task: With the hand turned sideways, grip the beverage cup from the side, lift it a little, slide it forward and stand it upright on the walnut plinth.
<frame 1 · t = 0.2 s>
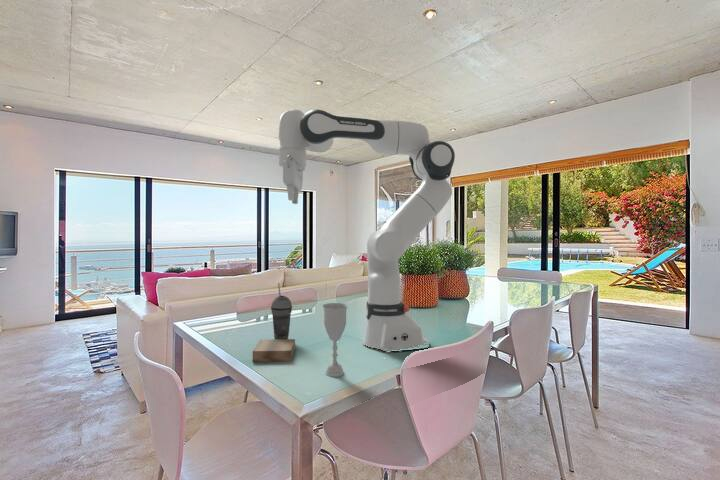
hand: (293, 202, 114), 48 cm above the table, tool pointing down, fingers open, 8 cm apart
walnut plinth: (274, 354, 105), on the table
chalice: (334, 373, 92), on the table
beverage cup: (281, 341, 119), on the table
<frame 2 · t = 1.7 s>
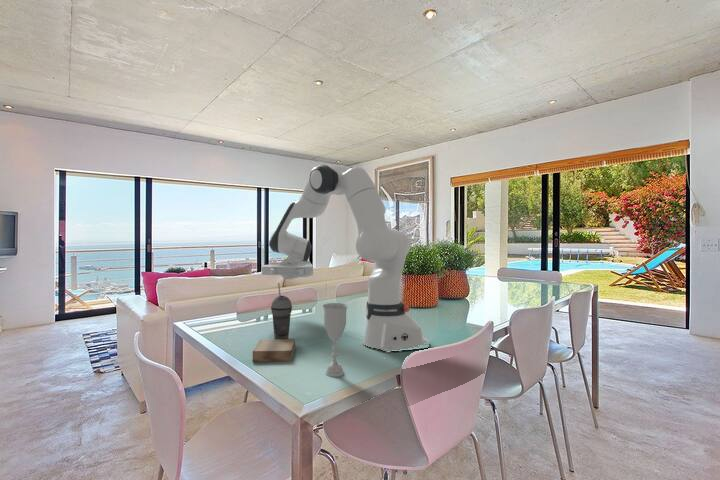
hand: (285, 272, 131), 22 cm above the table, tool horizontal, fingers open, 8 cm apart
nothing on the table moved.
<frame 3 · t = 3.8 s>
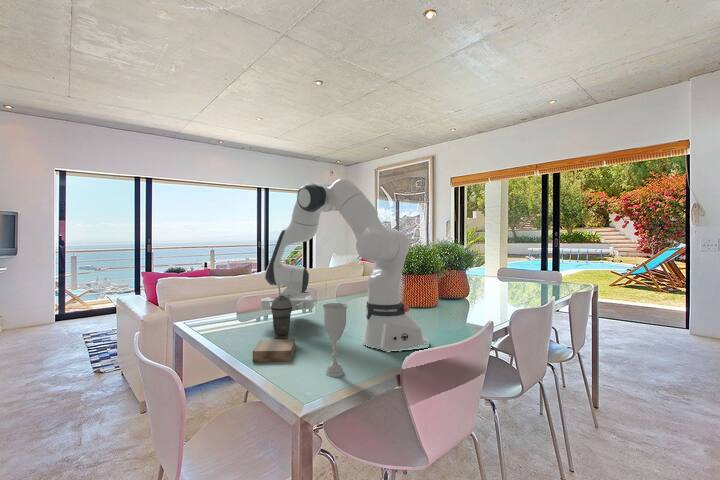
hand: (285, 307, 127), 10 cm above the table, tool horizontal, fingers open, 8 cm apart
nothing on the table moved.
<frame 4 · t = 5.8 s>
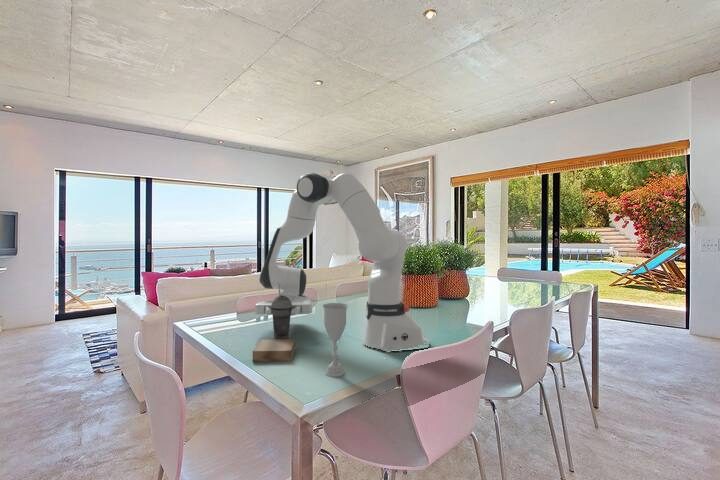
hand: (281, 312, 118), 10 cm above the table, tool horizontal, fingers closed on beverage cup, 7 cm apart
beverage cup: (281, 341, 119), on the table, touching gripper
everything else where it was.
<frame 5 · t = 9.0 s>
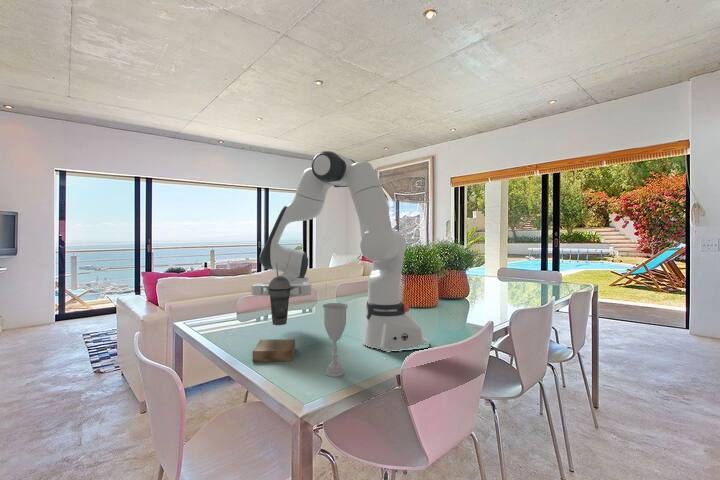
hand: (279, 292, 112), 18 cm above the table, tool horizontal, fingers closed on beverage cup, 7 cm apart
beverage cup: (279, 324, 113), point 7 cm above the table, touching gripper
everything else where it was.
when the fingers open (14 cm above the table, at t = 12.0 s): beverage cup drops 1 cm, resting on walnut plinth.
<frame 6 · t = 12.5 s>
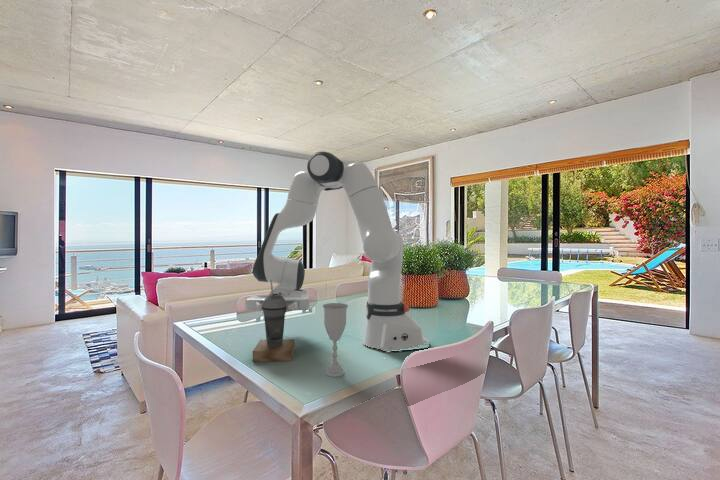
hand: (275, 308, 104), 14 cm above the table, tool horizontal, fingers open, 8 cm apart
beverage cup: (274, 345, 105), point 3 cm above the table, touching walnut plinth
everything else where it was.
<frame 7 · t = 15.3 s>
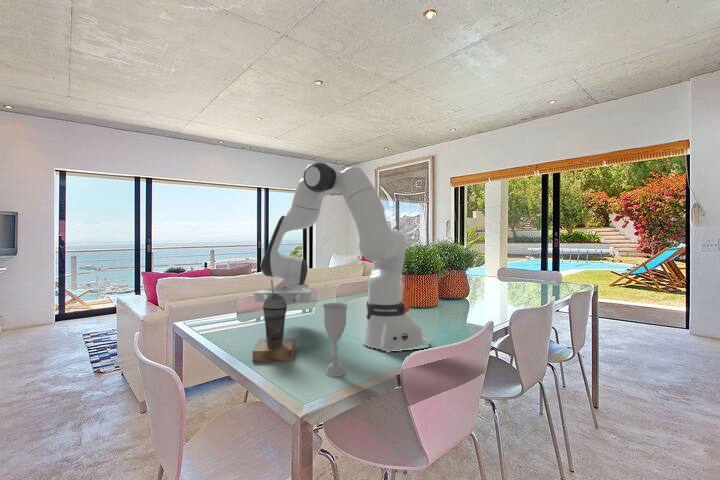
hand: (280, 299, 117), 15 cm above the table, tool horizontal, fingers open, 8 cm apart
nothing on the table moved.
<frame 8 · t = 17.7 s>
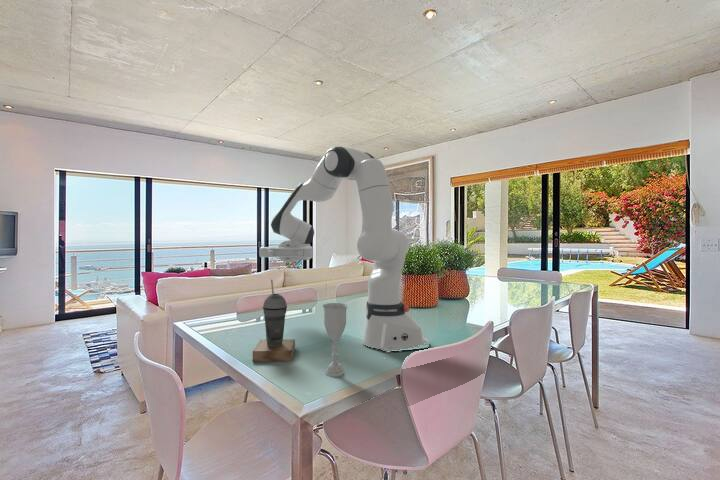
hand: (284, 253, 125), 30 cm above the table, tool horizontal, fingers open, 8 cm apart
nothing on the table moved.
at the end: beverage cup inside the target area on the walnut plinth (0.1 cm from its centre), point 2.8 cm above the walnut plinth's base; beverage cup tilted 0°; the gripper is holding nothing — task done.
